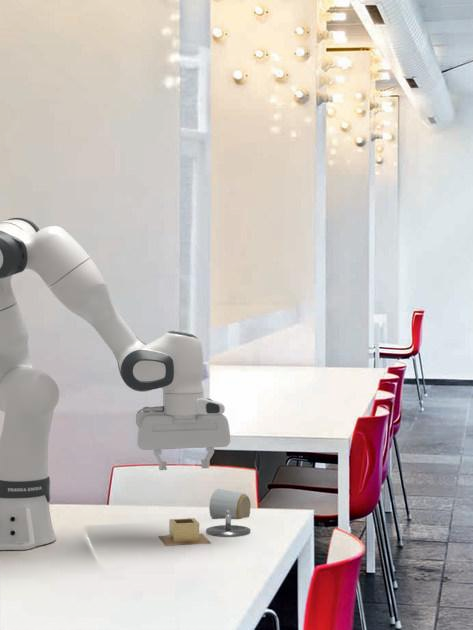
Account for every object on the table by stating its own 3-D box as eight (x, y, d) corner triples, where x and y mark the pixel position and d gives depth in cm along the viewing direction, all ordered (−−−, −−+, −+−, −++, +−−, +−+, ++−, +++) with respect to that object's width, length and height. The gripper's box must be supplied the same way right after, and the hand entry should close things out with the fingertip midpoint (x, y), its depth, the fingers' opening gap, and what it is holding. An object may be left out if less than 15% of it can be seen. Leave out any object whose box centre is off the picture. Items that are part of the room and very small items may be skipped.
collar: (173, 542, 239) (173, 524, 239) (169, 537, 244) (169, 519, 244) (199, 541, 240) (199, 523, 240) (194, 536, 246) (194, 518, 246)
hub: (211, 544, 244) (210, 516, 244) (202, 535, 253) (201, 507, 253) (255, 542, 246) (255, 513, 246) (244, 532, 256) (244, 505, 256)
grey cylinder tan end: (238, 526, 263) (239, 493, 263) (208, 522, 267) (208, 491, 267) (258, 518, 273) (258, 487, 273) (228, 515, 276) (228, 484, 276)
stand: (165, 552, 236) (165, 534, 236) (157, 542, 246) (157, 524, 246) (211, 550, 239) (211, 531, 238) (202, 540, 248) (202, 522, 248)
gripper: (138, 408, 236) (138, 473, 237) (231, 405, 241) (232, 469, 241) (134, 405, 242) (134, 468, 243) (225, 402, 247) (225, 464, 247)
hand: (184, 468), depth 242 cm, fingers open, 8 cm apart
